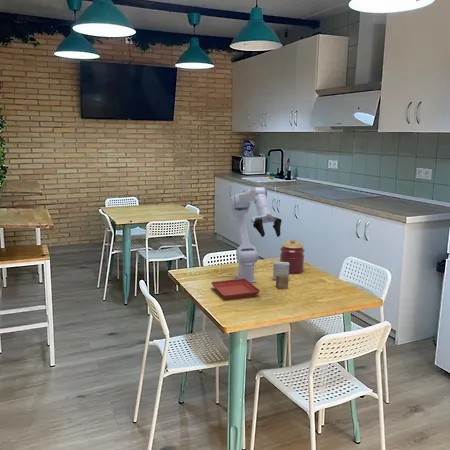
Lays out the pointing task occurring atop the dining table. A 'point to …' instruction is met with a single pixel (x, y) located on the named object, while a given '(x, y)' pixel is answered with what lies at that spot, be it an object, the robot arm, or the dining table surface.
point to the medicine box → (280, 269)
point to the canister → (293, 256)
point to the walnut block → (282, 281)
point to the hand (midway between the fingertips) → (271, 235)
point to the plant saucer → (235, 288)
